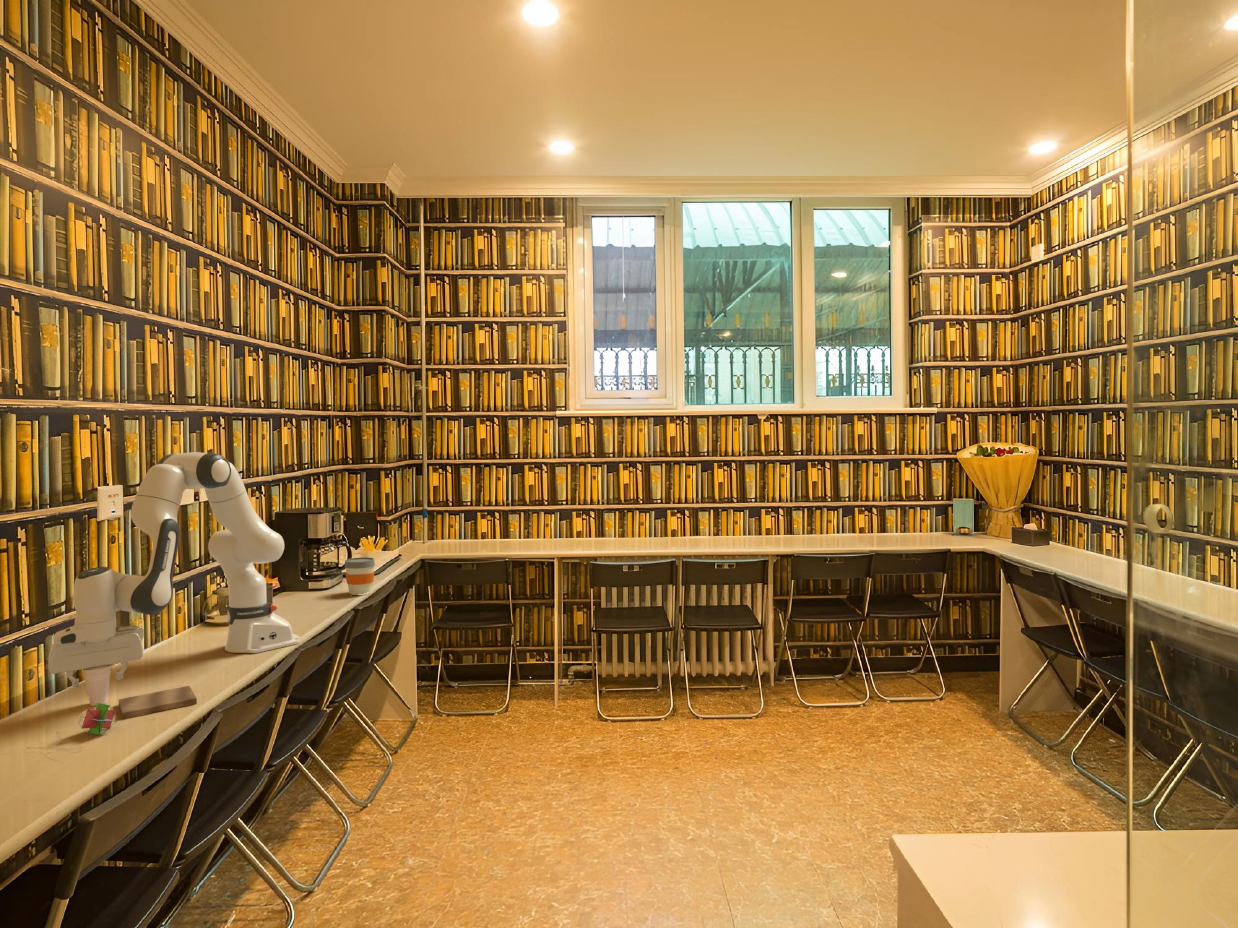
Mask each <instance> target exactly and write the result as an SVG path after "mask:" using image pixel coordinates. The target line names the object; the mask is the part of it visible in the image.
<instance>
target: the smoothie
mask: <svg viewBox="0 0 1238 928" xmlns="http://www.w3.org/2000/svg"><path fill="white" fill-rule="evenodd" d="M112 670H113V664H110V665H104V666H98V667H92V668H86V669H82V674H83V676H84V681H85V687H86V691H87V696H88V701H89V705H90V707H97V703H100V704H105V705H106V704H107V703H108V698H109V691H110V680H111V671H112Z"/></svg>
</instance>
